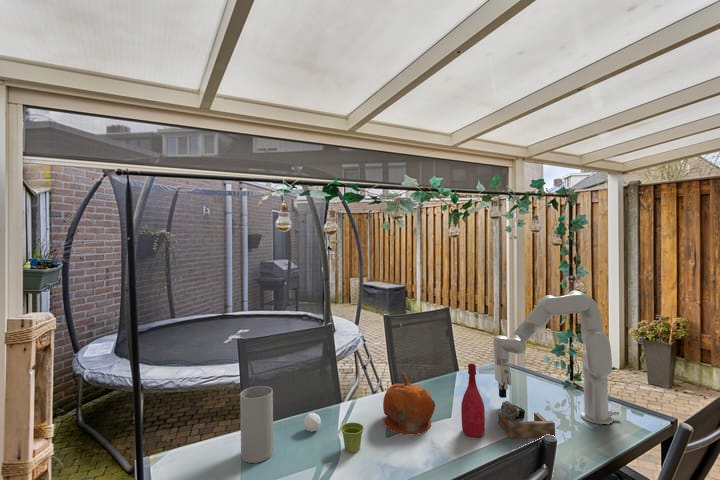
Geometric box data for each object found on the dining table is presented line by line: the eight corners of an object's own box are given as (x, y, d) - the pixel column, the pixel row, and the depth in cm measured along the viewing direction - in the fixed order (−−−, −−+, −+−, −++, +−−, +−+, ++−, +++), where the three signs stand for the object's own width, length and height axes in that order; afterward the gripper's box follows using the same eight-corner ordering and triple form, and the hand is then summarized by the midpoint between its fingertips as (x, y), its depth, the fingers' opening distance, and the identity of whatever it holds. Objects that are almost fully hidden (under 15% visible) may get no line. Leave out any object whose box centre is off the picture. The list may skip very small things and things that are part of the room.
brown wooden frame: (538, 421, 170) (538, 408, 170) (555, 437, 156) (554, 422, 156) (497, 422, 170) (497, 409, 170) (510, 438, 156) (510, 424, 156)
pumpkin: (395, 407, 188) (394, 363, 188) (442, 419, 174) (441, 371, 174) (372, 425, 169) (371, 376, 169) (423, 440, 155) (422, 387, 156)
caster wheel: (521, 417, 180) (525, 424, 170) (497, 410, 182) (500, 416, 173) (524, 403, 180) (528, 409, 171) (499, 396, 183) (502, 402, 174)
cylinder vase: (235, 455, 147) (234, 392, 147) (263, 443, 156) (262, 383, 156) (250, 468, 138) (249, 401, 138) (279, 454, 147) (278, 391, 147)
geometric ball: (308, 436, 166) (301, 418, 169) (324, 427, 168) (317, 410, 172) (307, 435, 159) (299, 417, 163) (324, 426, 162) (316, 408, 165)
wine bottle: (469, 439, 155) (468, 368, 156) (457, 428, 165) (456, 361, 165) (489, 436, 158) (488, 366, 158) (476, 425, 167) (475, 359, 168)
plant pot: (351, 440, 156) (350, 420, 157) (368, 447, 150) (368, 426, 151) (336, 450, 149) (335, 428, 149) (354, 458, 143) (353, 436, 143)
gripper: (515, 365, 180) (516, 403, 179) (503, 356, 195) (503, 391, 194) (500, 365, 180) (501, 403, 179) (489, 356, 194) (489, 391, 194)
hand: (502, 396), depth 187 cm, fingers closed
